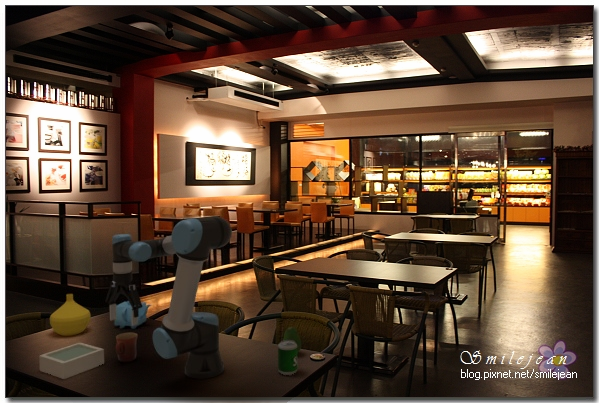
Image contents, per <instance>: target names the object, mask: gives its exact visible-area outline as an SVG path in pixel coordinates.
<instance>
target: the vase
mask: <svg viewBox="0 0 599 403" xmlns="http://www.w3.org/2000/svg"><path fill="white" fill-rule="evenodd" d="M91 318H92V317H91V312H90V310H89V309H87V308H86V307H84V306H82V305H80V304H78V303H77V302H76V301H75V300H74V294H73V293H67V294H66V301H65V302H64V303H63V304H62V305H61V306H60V307H59V308H57V309H56V310H55V311H54V312H53V313H52V314H51V315H50V317H49V324H50V326H51V328H52V330H53V331H54V332H55V333H56V334H58V335H59V336H61V337H63V336H64V337H71V336H77V335H78V334H81V333H82V332H84V331H85V329H86V328H87V327H88V326H89V323H90V321H91Z"/></svg>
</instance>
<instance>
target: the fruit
mask: <svg viewBox="0 0 599 403" xmlns="http://www.w3.org/2000/svg"><path fill="white" fill-rule="evenodd" d="M284 340H292V341H294V342H295V343H296V344H297V354H299V352H300V351H301V349H302V341H301V337H300V335H299V332H298V330H297V328H295V327H294V326H289V327H287V329H285V331H284V334H283V340H282V341H284Z"/></svg>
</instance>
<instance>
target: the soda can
mask: <svg viewBox="0 0 599 403" xmlns="http://www.w3.org/2000/svg"><path fill="white" fill-rule="evenodd" d="M277 353H278V354H277V359H278V360H277V361H278V362H277V366H278V368H277V369H278V372H279V373H280V374H281V375H282V374H283V376H286V375H289V376H293V375H295V374H296V373H297V372H298V353H297V344H296V343H295V342H294V341H292V340H284V341H283V340H281V341H280V342H279V343H278V345H277ZM294 373H295V374H294ZM292 374H293V375H292Z"/></svg>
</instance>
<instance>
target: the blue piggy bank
mask: <svg viewBox="0 0 599 403" xmlns="http://www.w3.org/2000/svg"><path fill="white" fill-rule="evenodd" d="M141 303H142V308H139V316H138V324H137V325H134V326H132V319H131V310H132V309H133V308H132V307H131V305H130V303H129V301H128V300H127V301H123V302H121V303H119V304H116V318H117V319H114V320H113V321H114V326H119V329H124V328H125V327H130V329H137V327H138V326H140V325H143V323H145V322H146V321H147V316H148V315H147V314H148V310H149V307H151V306H152V304H147V302H142V301H141Z"/></svg>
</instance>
